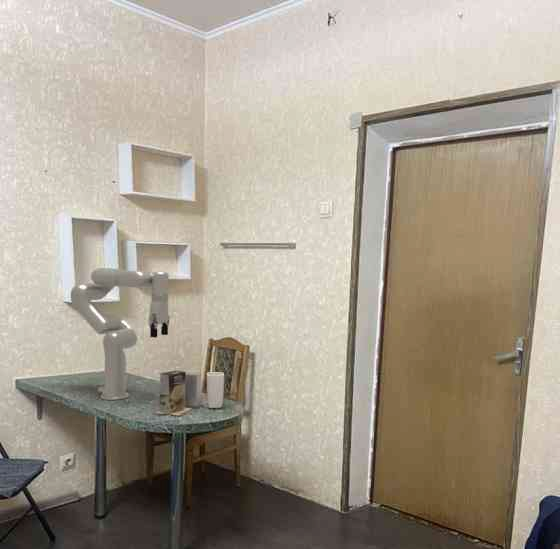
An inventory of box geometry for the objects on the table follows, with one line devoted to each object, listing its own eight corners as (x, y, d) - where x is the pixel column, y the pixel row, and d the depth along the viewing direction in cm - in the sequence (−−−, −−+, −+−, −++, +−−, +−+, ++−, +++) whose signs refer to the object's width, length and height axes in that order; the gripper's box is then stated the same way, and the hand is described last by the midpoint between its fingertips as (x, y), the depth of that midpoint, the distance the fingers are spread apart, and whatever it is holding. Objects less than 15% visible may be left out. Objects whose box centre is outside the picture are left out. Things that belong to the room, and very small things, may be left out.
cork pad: (153, 414, 202) (153, 412, 202) (166, 407, 213) (166, 405, 213) (179, 416, 199) (179, 415, 199) (191, 409, 209) (191, 408, 209)
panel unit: (172, 406, 214) (173, 374, 214) (178, 403, 220) (179, 371, 220) (197, 409, 211) (198, 375, 211) (203, 405, 216) (203, 373, 217)
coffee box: (169, 413, 200) (170, 375, 200) (158, 411, 204) (159, 373, 204) (185, 409, 208) (186, 371, 208) (174, 406, 211) (175, 370, 212)
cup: (206, 405, 217) (206, 372, 217) (222, 405, 218) (223, 372, 218) (206, 409, 210) (207, 375, 210) (223, 409, 211) (224, 375, 211)
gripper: (161, 297, 231) (161, 333, 231) (142, 299, 215) (141, 337, 214) (176, 298, 229) (175, 334, 229) (157, 299, 213) (157, 338, 212)
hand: (159, 336), depth 222 cm, fingers open, 9 cm apart
